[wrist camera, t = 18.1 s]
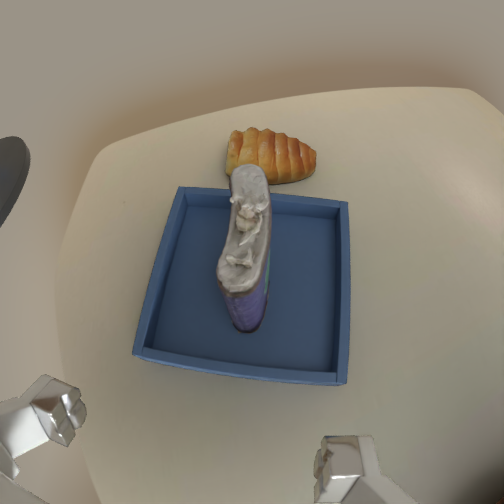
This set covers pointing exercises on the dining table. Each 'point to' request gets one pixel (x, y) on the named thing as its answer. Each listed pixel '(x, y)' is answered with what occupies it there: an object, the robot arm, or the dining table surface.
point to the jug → (501, 501)
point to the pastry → (271, 155)
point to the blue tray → (280, 294)
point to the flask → (247, 249)
